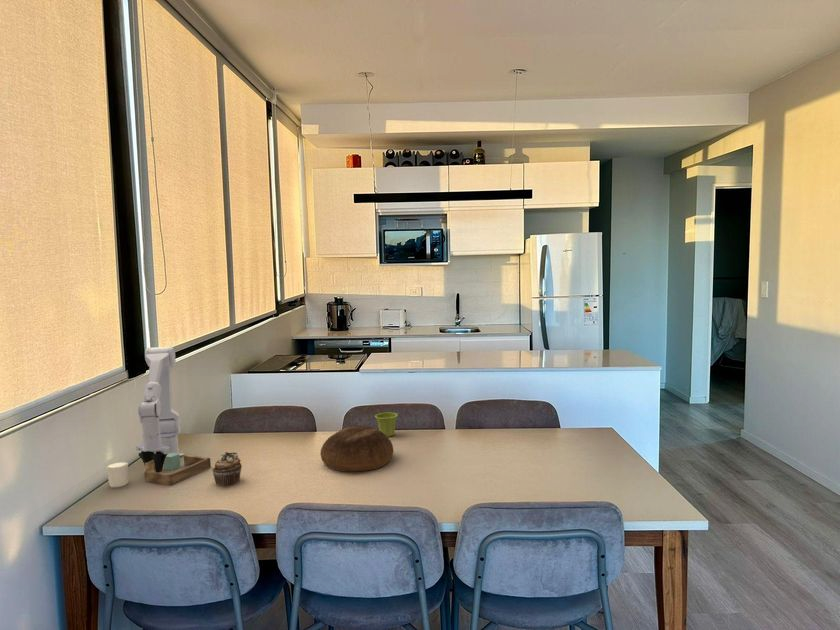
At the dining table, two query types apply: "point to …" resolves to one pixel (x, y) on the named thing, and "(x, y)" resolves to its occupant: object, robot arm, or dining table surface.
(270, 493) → the dining table surface
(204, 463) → the corral
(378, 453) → the bread
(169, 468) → the teal block
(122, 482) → the white cylinder
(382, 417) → the plant pot
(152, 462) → the oak block
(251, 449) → the dining table surface
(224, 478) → the cupcake
